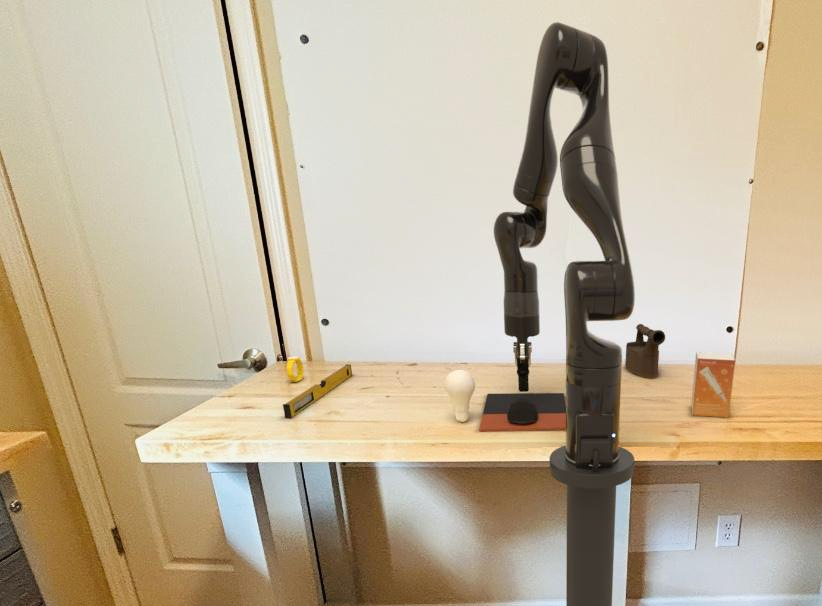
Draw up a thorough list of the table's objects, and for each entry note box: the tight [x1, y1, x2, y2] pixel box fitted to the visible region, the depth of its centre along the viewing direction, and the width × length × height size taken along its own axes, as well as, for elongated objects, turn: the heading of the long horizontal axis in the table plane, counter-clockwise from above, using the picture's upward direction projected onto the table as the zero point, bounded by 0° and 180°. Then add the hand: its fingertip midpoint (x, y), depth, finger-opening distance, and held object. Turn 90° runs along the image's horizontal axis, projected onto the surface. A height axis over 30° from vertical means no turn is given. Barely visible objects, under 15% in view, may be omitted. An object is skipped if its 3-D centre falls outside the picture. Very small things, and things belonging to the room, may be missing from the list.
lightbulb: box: [443, 369, 476, 423], centre depth 124 cm, size 6×6×11 cm
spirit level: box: [282, 363, 353, 419], centre depth 140 cm, size 33×1×3 cm, turn 0°
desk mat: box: [478, 392, 566, 432], centre depth 133 cm, size 24×18×1 cm
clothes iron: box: [624, 323, 666, 379], centre depth 163 cm, size 8×16×13 cm, turn 13°
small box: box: [690, 351, 736, 419], centre depth 133 cm, size 8×6×13 cm
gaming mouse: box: [507, 397, 538, 424], centre depth 128 cm, size 6×15×4 cm, turn 5°
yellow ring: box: [286, 355, 304, 383], centre depth 150 cm, size 6×3×6 cm, turn 2°
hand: (523, 390), depth 135 cm, fingers closed
